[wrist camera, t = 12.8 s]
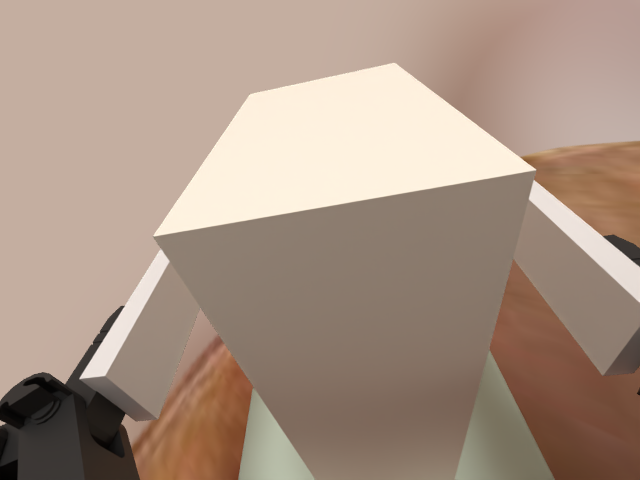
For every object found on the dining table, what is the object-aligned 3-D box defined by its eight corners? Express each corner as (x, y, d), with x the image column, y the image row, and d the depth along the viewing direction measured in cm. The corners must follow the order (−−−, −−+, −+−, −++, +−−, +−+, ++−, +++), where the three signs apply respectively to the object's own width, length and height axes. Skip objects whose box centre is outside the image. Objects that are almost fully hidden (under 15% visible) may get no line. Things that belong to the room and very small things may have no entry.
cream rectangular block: (403, 317, 20) (394, 62, 11) (452, 487, 13) (535, 170, 4) (322, 327, 21) (250, 94, 12) (326, 496, 14) (152, 236, 5)
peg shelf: (456, 320, 26) (463, 268, 23) (587, 614, 14) (653, 609, 10) (276, 342, 28) (255, 298, 24) (245, 624, 15) (190, 622, 12)
